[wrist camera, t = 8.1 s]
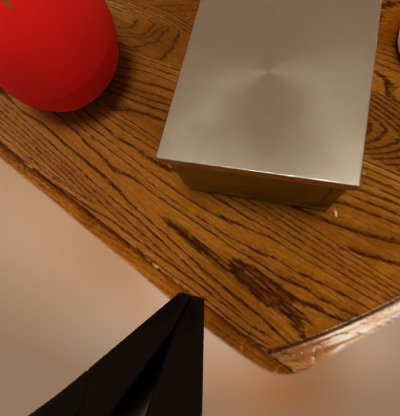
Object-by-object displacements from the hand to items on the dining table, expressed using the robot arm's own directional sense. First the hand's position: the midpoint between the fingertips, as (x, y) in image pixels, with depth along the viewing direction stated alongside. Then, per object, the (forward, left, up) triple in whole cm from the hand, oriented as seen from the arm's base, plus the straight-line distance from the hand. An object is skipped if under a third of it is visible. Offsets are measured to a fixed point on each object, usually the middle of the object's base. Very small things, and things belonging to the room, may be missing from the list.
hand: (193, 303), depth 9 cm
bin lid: (+13, +3, -6) cm, 15 cm away
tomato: (+14, +25, -14) cm, 31 cm away
